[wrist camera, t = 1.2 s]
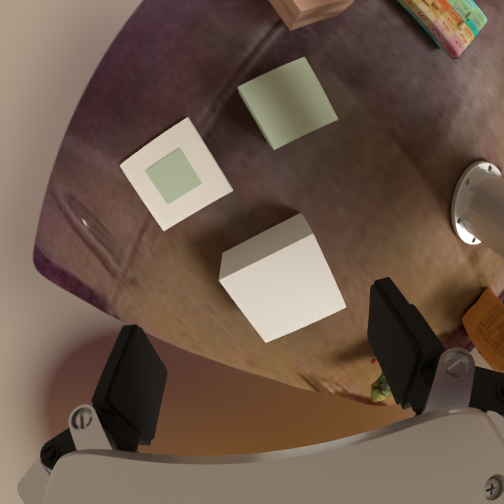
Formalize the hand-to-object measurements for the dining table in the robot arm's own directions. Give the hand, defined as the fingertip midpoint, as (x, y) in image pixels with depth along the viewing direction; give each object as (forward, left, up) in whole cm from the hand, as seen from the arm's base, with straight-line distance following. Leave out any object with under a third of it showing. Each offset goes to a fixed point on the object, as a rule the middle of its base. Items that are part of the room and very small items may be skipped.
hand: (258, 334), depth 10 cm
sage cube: (-7, -7, -21) cm, 23 cm away
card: (+6, -6, -21) cm, 22 cm away
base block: (+1, +10, -21) cm, 23 cm away
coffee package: (-29, +40, -21) cm, 54 cm away
